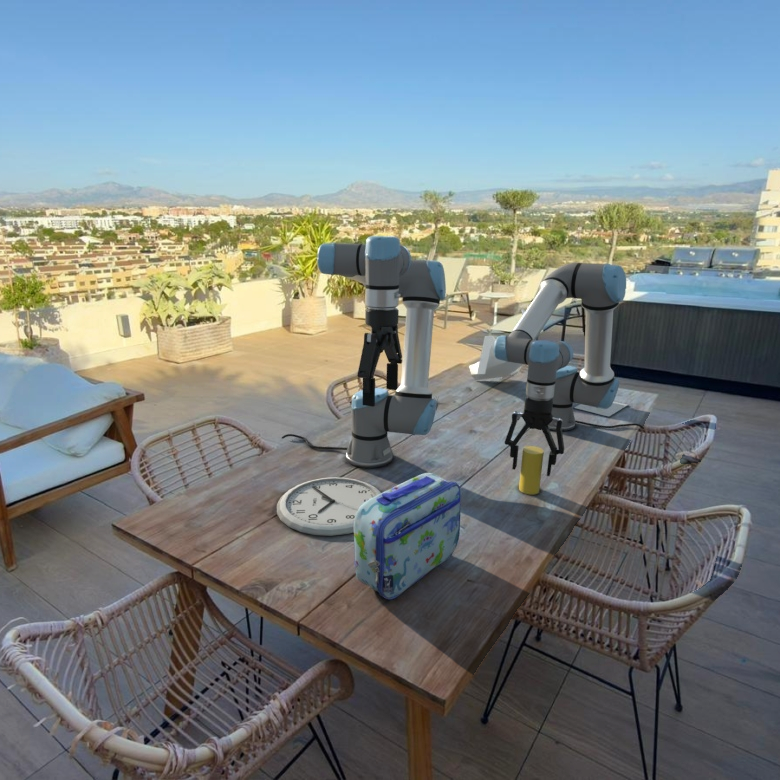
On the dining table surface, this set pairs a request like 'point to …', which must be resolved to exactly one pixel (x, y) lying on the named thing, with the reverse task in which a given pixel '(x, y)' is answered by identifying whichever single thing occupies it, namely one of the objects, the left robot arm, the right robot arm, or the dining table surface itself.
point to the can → (531, 470)
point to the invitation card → (606, 412)
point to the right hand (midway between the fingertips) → (531, 470)
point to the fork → (436, 397)
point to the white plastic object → (492, 362)
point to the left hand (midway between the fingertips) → (380, 397)
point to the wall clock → (324, 505)
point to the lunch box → (406, 533)
